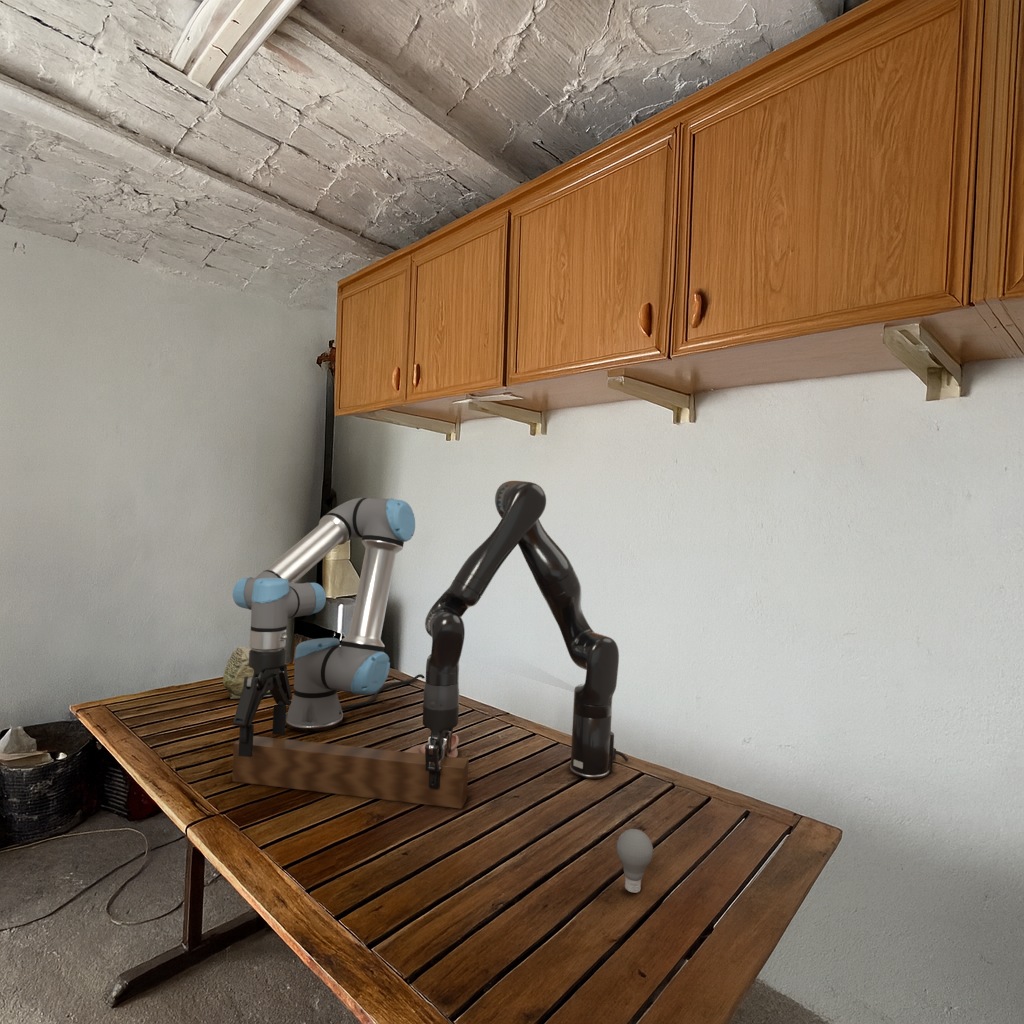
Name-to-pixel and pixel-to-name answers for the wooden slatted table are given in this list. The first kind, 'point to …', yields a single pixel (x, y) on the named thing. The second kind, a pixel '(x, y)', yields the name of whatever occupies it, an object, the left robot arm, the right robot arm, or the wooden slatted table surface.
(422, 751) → the anatomical model
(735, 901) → the wooden slatted table surface
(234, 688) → the fossil
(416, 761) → the beam
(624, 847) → the light bulb
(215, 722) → the wooden slatted table surface
